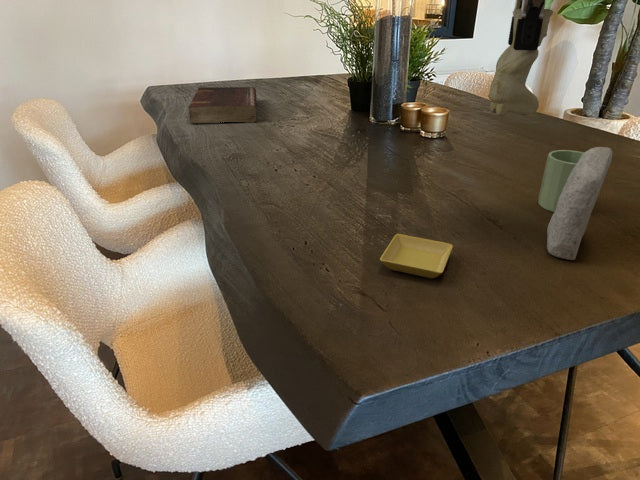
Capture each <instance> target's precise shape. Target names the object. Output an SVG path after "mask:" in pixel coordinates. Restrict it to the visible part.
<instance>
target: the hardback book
mask: <svg viewBox="0 0 640 480" xmlns="http://www.w3.org/2000/svg"><path fill="white" fill-rule="evenodd" d="M257 100H258V99H257V89H256V87H255V86H227V87H226V86H224V87H223V86H222V87H221V86H219V87H218V86H212V87H211V86H210V87H209V86H208V87H205V86H203V87H200V86H199V87H198V88H197V90H196V92H195V94H194V95H193V98H192V100H191V101H190V103H189V105H188V113H189V120H190V124H225V123H224V122H246V123H255V122H254V121H256V122H257V119H258V112H257V111H258V106H257V104H258V103H257V102H258V101H257ZM220 122H221V123H220ZM222 122H223V123H222Z"/></svg>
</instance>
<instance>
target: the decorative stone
mask: <svg viewBox="0 0 640 480" xmlns="http://www.w3.org/2000/svg"><path fill="white" fill-rule="evenodd" d="M613 153H614V152H613V149H611V148H610V147H608V146H595V147H591V148H590V149H588V150H586V151H585V152H584V153H583V154H582V156H581V157H580V159H579V161H578V162H577V164H576V165H575V167H574V168H573V170H572V172H571V174H570V175H569V177H568V179H567V182H566V184H565V186H564V188H563V191H562V193H561V195H560V197H559V200H558V203H557V208H556V211H555V212H553V214H552V216H551V218H550V221H549V223H548V226H547V230H546V235H547V238H546V239H547V240H546V249H547V252H548V254H550V255H552V256H554V257H556V258H559V259H563V260H567V261H575V260H576V259H577V258H576V257H577V255H578V253H579V252H578V251H579V248H580V245H581V242H582V239H583V236H584V235H585V233H586V230H587V228H588V224H589V221H590V218H591V216H592V215H591V214H592V212H593V209H594V208H595V205H596V202H597V199H598V197H599V194H600V192H601V189H602V186H603V184H604V182H605V179H606V177H607V174H608V171H609V168H610V166H611V164H612V160H613Z"/></svg>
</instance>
